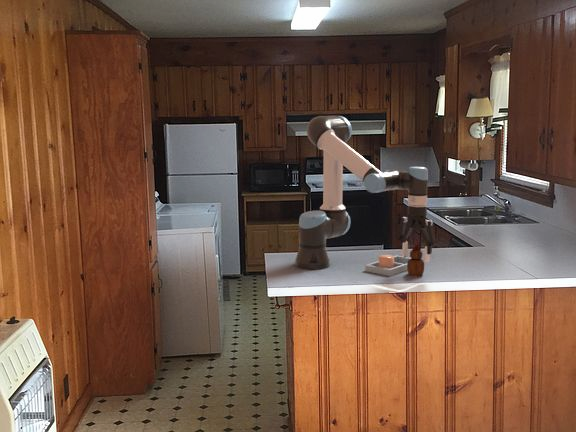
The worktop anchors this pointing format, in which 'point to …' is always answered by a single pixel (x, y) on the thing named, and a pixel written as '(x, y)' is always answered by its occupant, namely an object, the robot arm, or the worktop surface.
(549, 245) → the worktop surface
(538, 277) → the worktop surface
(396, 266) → the gray tray
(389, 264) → the orange square block
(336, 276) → the worktop surface
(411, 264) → the wooden figurine
